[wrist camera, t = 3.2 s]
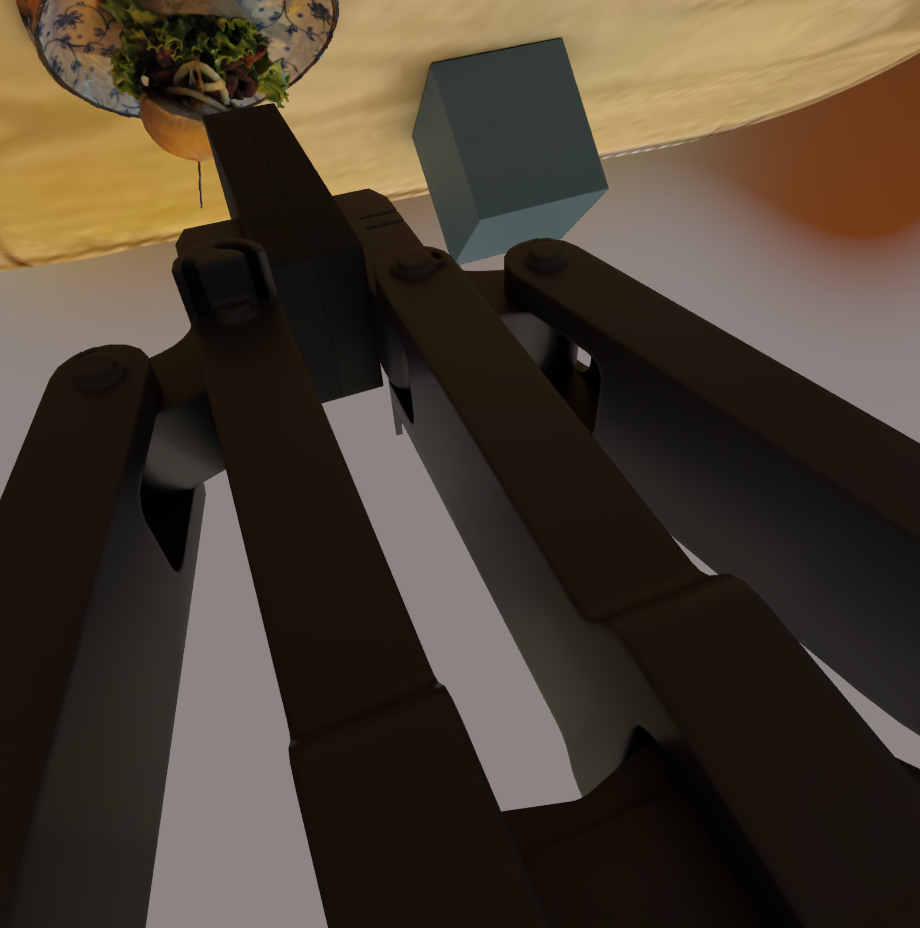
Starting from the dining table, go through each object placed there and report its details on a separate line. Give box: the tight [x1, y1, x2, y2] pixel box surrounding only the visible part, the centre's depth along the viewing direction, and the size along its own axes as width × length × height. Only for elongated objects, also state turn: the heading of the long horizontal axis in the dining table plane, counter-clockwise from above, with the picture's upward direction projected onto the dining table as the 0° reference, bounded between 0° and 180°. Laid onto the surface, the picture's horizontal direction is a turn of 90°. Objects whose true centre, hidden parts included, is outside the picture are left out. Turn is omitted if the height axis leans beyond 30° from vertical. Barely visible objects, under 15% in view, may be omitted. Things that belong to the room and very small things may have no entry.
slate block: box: [412, 38, 608, 265], centre depth 43 cm, size 8×8×9 cm
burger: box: [16, 0, 339, 208], centre depth 28 cm, size 12×12×8 cm
